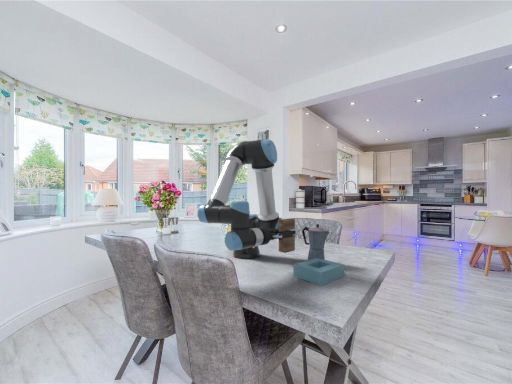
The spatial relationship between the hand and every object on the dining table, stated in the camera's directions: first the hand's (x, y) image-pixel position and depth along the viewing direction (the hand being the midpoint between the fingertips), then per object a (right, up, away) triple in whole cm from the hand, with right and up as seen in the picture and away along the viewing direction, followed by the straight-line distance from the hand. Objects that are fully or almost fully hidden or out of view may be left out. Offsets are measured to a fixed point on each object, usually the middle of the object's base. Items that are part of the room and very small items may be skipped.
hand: (294, 230), depth 119 cm
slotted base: (+8, -17, -15) cm, 24 cm away
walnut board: (-4, -9, -3) cm, 11 cm away
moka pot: (+12, -18, +5) cm, 22 cm away
